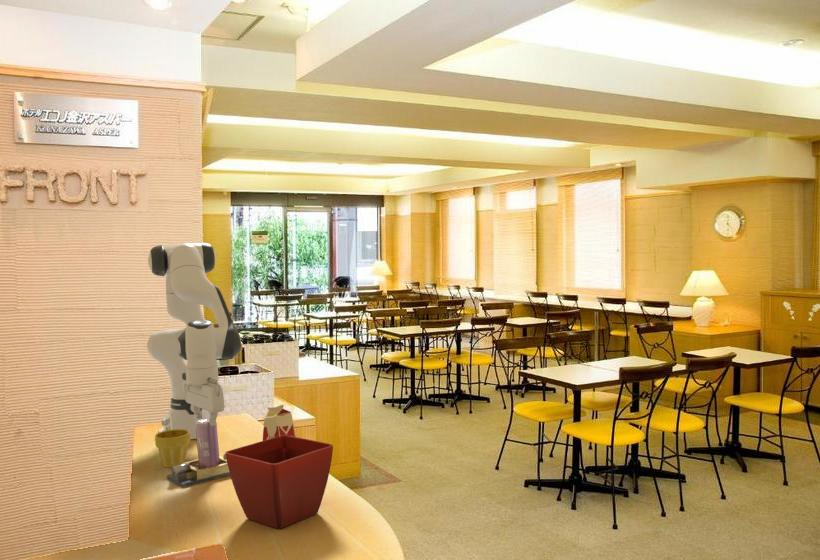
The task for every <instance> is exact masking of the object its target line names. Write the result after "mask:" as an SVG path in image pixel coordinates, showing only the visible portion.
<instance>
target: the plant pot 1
mask: <svg viewBox="0 0 820 560" xmlns="http://www.w3.org/2000/svg"><path fill="white" fill-rule="evenodd" d="M154 441H155V444H154V445H155V447H156V448H157V449H158V453H159V456H160V460H161V464H162V466H163V467H164V468H173V466H176V465H181V463H184V462H186V458H187V454H188V453H187V452H188V448H189V444H190V443H191V439H190V431H188V430H185V429H174V430H167V431H163V432H160V433H158V432H157V433H156V434H155V436H154Z"/></svg>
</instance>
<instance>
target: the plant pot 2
mask: <svg viewBox="0 0 820 560" xmlns="http://www.w3.org/2000/svg"><path fill="white" fill-rule="evenodd" d="M333 451H334V444H332V443H327V442H323V441H317V440H314V439H308V438H303V437H297V436H296V437H293V436H288V435H282V436H279V437H275V438H271V439H268V440H264V441H263V440H261V441H258V442H254V443H251V444H248V445H247V444H246V445H244V446H240V447H237V448H234V449H230V450H227V451H225V452H224V454H226V459H227V464H228V468H229V472H230V475H229V476H230V479H231V482H232V485H233V488H234V491H235V494H236V496H237V499H238V502H239V505H240V506H241V508H242V511H243V513H244V515H245V517H246V519H248V520H250V521H251V520H252V522H253V521H255V522H257V523H259V524H262V525H266V526H268V527H272V528H274V529H279V530H280V529H283V528H285V527H288V526H290V525H292V524H295V523H297V522H299V521H303V520H304V519H307V518H310V517H312V516H314V515H316V514H318V513H319V510H320V507H321V505H322V501H323V498H324V494H325V492H326V491H325V490H326V488H327V483H328V481H329V476H330V472H331V464H332V459H333Z"/></svg>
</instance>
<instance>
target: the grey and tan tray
mask: <svg viewBox="0 0 820 560" xmlns="http://www.w3.org/2000/svg"><path fill="white" fill-rule="evenodd" d="M219 458H220V465H216V466H212V467H208V468H204V469H200V470H199V462H198V458H197V459H193V460H189V461H185V462H184V463H181V465H176V466H173V467H171V469H172V471H171V473H169V474H167V475H166V479H168V480H169V481H171V482H173V483H174V484H175V485H178V486H180V487H181V488H186V487H190V486H195V485H199V484H202V483H206V482H210V481H213V480H218V479H221V478H225V477H228V476H230V472H229V468H228V464H227V459H226V454H225V453H224V454H223V455H219Z"/></svg>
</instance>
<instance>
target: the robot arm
mask: <svg viewBox="0 0 820 560" xmlns="http://www.w3.org/2000/svg"><path fill="white" fill-rule="evenodd" d="M216 264H217V254H216V251H215V249H214V247H213V246H212V245H211V244H210V243H207V242H200V243H198V242H181V243H174V244H165V245H162V244H160V245H156V246H154V247H152V248H151V249H150V251H149V254H148V257H147V265H148V267H149V269H150V270H151V273H152V274H153V275H155V276H158V277H165V296H166V299H165V300H166V310H167V314H168V315H169V316H171V317H172V318H173V319H176V320H178V321H180V322H183V323H184V324H185V325H186V326H185V328H171V329H170V328H169V329H162V330H159V331H155V332H152V334H151V335H150V336H149V337H148V340H147V343H146V349H147V352H148V353H149V355H150V356H151V357H152V358H153V359H154V360H156V361H157V362H158V363H160V364H161V365H162V366H163V367H164V368H165V370H166V371H167V373H168V376H169V380H170V387H171V394H172V395H171V398H170V409H169V410H168V412H167V413H166V415H165V416H164V418H163V419H161V425H162V426H164V427H161V428H159V429H158V430H157V433H160V432H163V431H167V430H174V429H185V430H188V431H190V440H194V439H195V440H197V437H196V422H197V421H199V420H203V419H208V424H209V425H210V426H214V425H216V423H217V418H218V415H219V413H220V412H223V411H224V410H225V405H226V404H225V398H224V397H225V396H224V390H223V387H222V385H220V384H219V382H218V381H219V378H220V377H219V364H218V363H219V362H218V360H220V359H221V360H231V359H234V358H235V357H236V356H237V355H238V354H239V353H240V351H241V349H242V337H241V335H240V333H239V331H238V328H237V327H236V325H235V323H234V321H233V318H232V316H231V313H230V311H229V308H228V305H227V303H226V300H225V298H224V296H223V293H222V291H221V290H220V287H219V286H218V285H216V284H214V283H212V282H211V281H210V280H209V278H208V277H207V275H206V274H207V273H210V272H212V271H213V270H214V269H215V265H216ZM201 306H204V307H207V309H208V308H209V309H210V310H211V311H212V312H213V314H214V317H215V320H216V322H217V325H218V327H215V325H214V323H213V322H212V321H210V320H206V318H205V317H204V314H203V313H202V308H201ZM185 361H187V363H185Z"/></svg>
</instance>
